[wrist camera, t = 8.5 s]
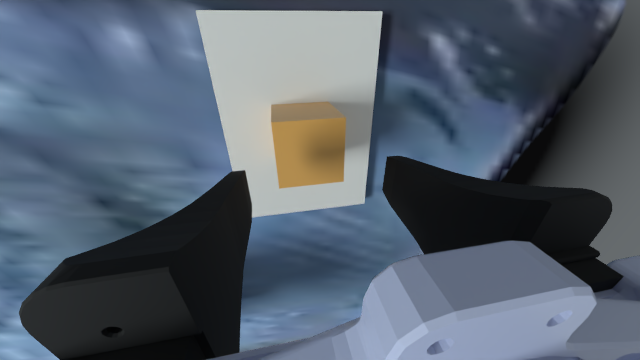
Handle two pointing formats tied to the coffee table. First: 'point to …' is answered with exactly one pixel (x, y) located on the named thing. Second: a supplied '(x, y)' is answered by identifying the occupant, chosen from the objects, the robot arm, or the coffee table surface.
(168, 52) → the coffee table surface
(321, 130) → the tan cardboard-like box
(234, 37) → the plate
